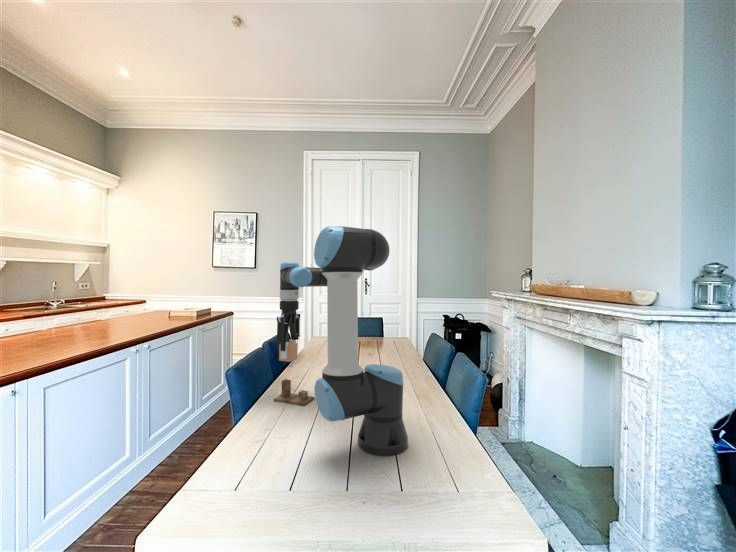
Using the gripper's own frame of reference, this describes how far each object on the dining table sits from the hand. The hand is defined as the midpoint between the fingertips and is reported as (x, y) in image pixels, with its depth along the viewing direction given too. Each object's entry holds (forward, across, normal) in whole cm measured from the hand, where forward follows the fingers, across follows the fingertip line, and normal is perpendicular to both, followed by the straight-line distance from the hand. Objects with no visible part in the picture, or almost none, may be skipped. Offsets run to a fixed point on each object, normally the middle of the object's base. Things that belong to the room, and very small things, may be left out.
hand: (288, 356), depth 141 cm
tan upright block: (+1, 0, 0) cm, 1 cm away
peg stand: (+17, -1, -4) cm, 17 cm away
